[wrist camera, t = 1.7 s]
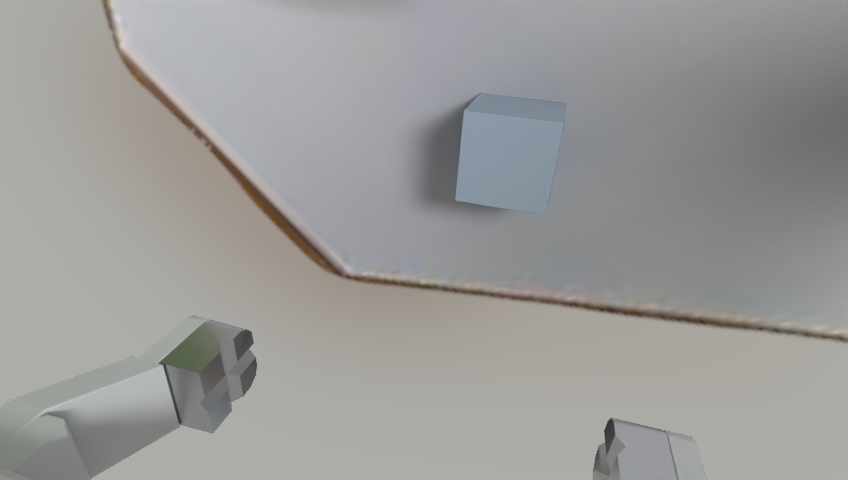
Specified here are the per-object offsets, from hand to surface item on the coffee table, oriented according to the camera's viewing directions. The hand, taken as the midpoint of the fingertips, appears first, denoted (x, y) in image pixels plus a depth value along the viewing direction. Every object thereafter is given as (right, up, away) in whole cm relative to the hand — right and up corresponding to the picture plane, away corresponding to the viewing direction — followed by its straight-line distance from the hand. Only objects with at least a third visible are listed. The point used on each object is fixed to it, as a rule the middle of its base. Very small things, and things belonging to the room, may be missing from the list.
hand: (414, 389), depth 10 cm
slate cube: (+6, +9, +18) cm, 22 cm away
